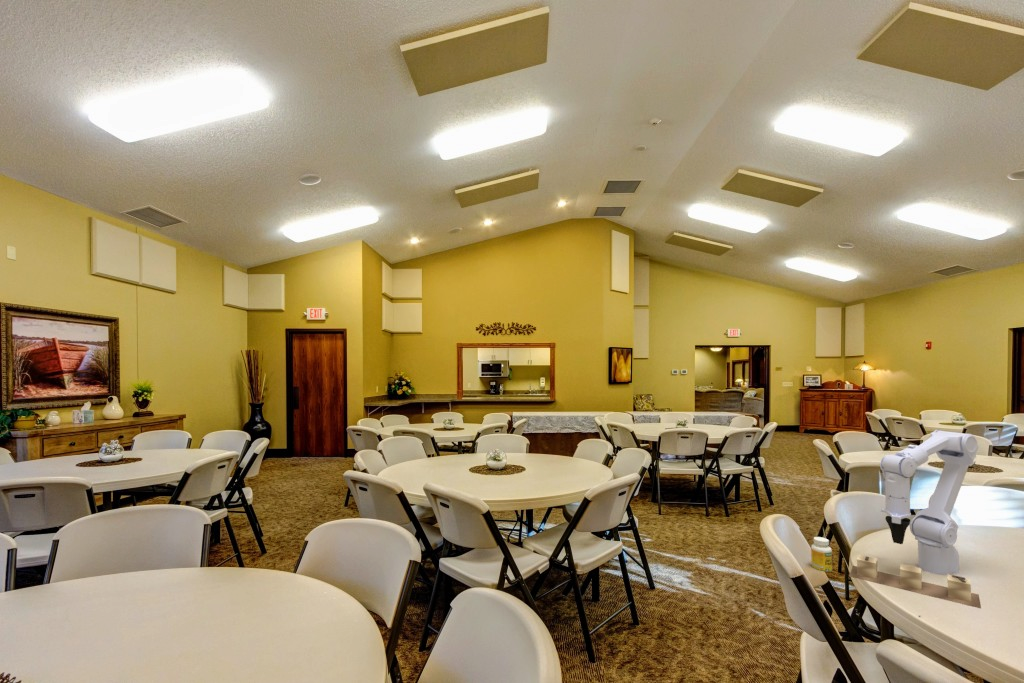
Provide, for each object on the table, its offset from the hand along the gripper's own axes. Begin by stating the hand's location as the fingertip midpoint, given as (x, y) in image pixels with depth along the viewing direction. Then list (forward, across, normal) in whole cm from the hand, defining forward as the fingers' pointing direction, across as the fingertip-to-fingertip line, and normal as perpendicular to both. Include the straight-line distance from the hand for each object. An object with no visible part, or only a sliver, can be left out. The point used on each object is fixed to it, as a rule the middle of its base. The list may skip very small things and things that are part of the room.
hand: (898, 542), depth 143 cm
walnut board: (+10, +6, +3) cm, 12 cm away
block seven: (+9, +6, +13) cm, 17 cm away
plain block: (+10, +6, +3) cm, 11 cm away
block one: (+10, +6, -7) cm, 13 cm away
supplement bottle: (+11, +9, -18) cm, 23 cm away
